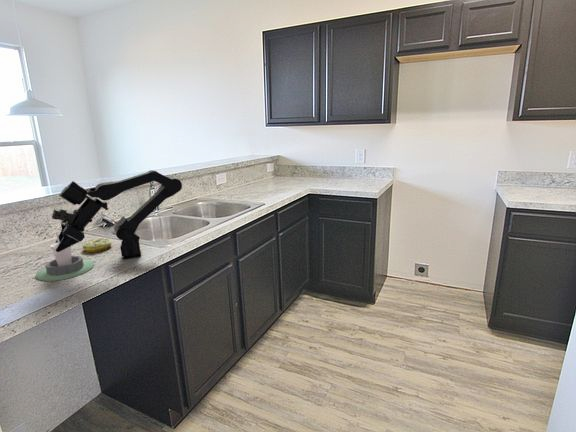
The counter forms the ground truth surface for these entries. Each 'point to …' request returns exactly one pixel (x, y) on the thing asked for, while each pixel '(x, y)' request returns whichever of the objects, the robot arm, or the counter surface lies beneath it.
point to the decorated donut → (97, 245)
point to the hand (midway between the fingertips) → (56, 247)
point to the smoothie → (61, 254)
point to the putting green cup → (64, 269)
